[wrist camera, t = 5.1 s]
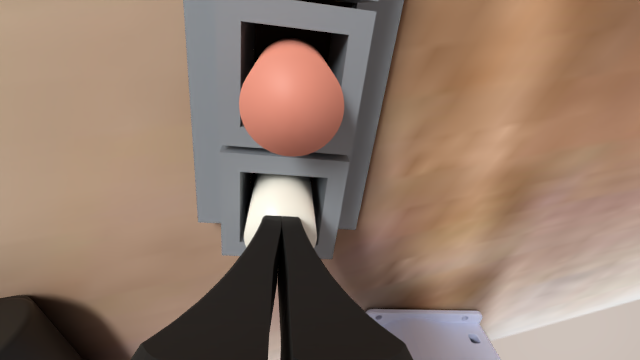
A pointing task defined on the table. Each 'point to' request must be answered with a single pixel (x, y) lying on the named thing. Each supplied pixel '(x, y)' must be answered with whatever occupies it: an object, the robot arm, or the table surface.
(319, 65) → the salmon rounded peg
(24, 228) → the table surface
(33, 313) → the end cap
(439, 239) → the table surface
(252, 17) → the socket strip
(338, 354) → the robot arm
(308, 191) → the ivory plug
